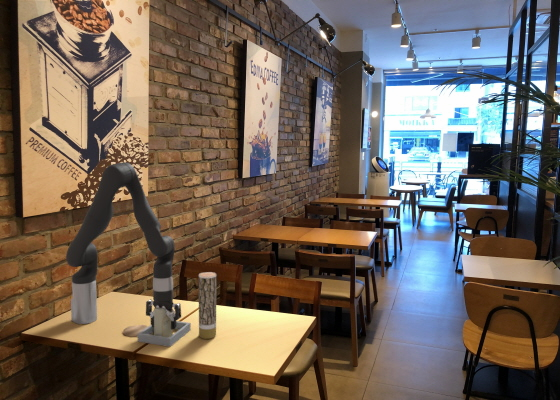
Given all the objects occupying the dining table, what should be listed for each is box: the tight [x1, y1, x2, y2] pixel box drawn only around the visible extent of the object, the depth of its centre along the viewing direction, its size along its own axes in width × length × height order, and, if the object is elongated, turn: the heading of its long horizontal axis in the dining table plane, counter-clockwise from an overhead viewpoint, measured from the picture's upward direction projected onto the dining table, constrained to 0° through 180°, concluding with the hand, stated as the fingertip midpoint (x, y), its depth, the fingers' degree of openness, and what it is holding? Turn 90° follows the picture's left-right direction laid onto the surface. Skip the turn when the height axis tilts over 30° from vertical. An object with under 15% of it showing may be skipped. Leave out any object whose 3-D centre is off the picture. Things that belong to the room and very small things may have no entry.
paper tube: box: [198, 271, 217, 340], centre depth 174 cm, size 7×7×25 cm
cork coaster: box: [122, 324, 149, 337], centre depth 178 cm, size 10×10×1 cm
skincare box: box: [153, 307, 174, 337], centre depth 173 cm, size 6×4×12 cm
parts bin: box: [137, 320, 192, 347], centre depth 175 cm, size 14×16×3 cm
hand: (163, 327), depth 174 cm, fingers open, 8 cm apart
